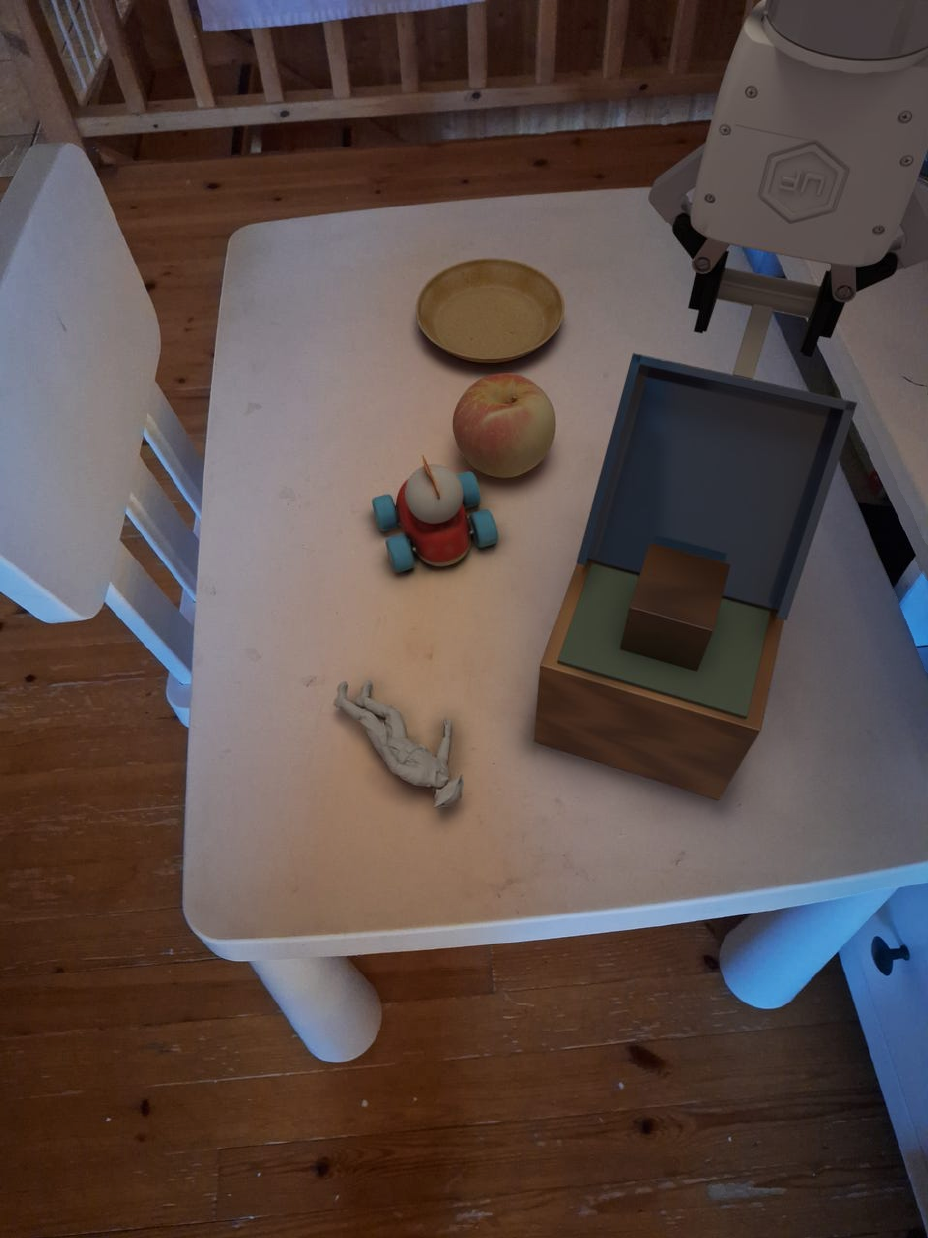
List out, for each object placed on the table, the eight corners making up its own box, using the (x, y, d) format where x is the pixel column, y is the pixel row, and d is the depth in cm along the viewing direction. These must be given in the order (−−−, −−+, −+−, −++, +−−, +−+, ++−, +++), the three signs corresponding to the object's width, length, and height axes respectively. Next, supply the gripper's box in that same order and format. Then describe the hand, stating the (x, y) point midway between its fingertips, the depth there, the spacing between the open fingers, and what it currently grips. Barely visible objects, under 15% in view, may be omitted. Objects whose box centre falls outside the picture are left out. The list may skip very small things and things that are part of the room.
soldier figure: (396, 678, 72) (507, 744, 65) (380, 733, 73) (487, 805, 66) (322, 680, 66) (434, 753, 59) (305, 740, 67) (414, 820, 60)
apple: (440, 475, 81) (435, 412, 75) (482, 410, 86) (481, 344, 79) (529, 507, 79) (532, 444, 72) (567, 438, 83) (574, 372, 76)
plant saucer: (575, 289, 94) (577, 268, 92) (546, 389, 87) (548, 368, 84) (439, 270, 96) (437, 249, 94) (399, 365, 89) (397, 345, 87)
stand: (775, 553, 76) (818, 457, 66) (719, 800, 65) (760, 731, 55) (613, 511, 79) (630, 413, 68) (533, 741, 68) (539, 665, 57)
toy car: (469, 480, 81) (466, 400, 73) (502, 556, 77) (502, 479, 68) (371, 507, 80) (356, 428, 71) (398, 585, 75) (385, 511, 67)
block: (730, 563, 54) (713, 631, 52) (713, 607, 59) (697, 671, 56) (649, 542, 56) (629, 607, 53) (638, 587, 60) (619, 649, 57)
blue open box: (876, 312, 55) (893, 296, 50) (780, 610, 59) (787, 621, 54) (662, 269, 57) (659, 250, 53) (584, 556, 61) (575, 563, 57)
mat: (769, 614, 59) (770, 610, 58) (745, 719, 55) (747, 716, 55) (591, 565, 61) (591, 562, 61) (557, 663, 57) (557, 660, 57)
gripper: (642, 6, 38) (600, 339, 54) (1075, 68, 35) (897, 406, 50) (682, -72, 42) (632, 262, 57) (1078, -22, 39) (911, 319, 54)
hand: (756, 326), depth 54 cm, fingers closed on blue open box, 5 cm apart
